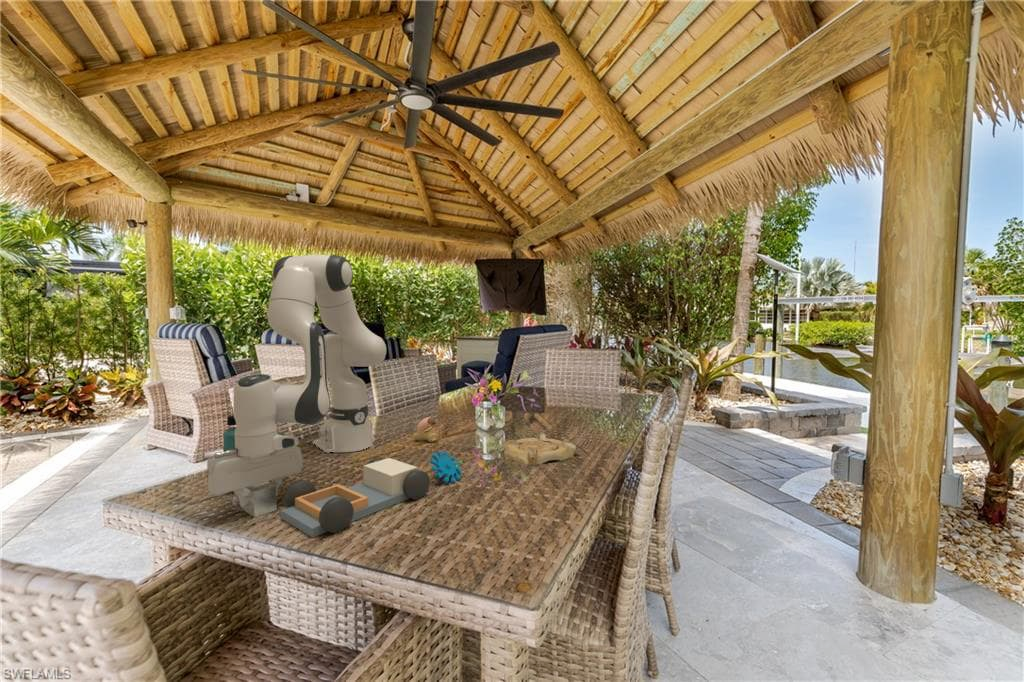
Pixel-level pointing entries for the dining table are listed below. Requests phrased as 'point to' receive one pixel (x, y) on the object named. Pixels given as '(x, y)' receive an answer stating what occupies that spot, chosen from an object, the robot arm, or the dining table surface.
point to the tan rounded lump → (427, 430)
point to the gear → (446, 466)
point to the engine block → (260, 499)
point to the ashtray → (538, 450)
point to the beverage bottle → (229, 435)
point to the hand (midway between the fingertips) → (259, 500)
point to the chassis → (352, 497)
